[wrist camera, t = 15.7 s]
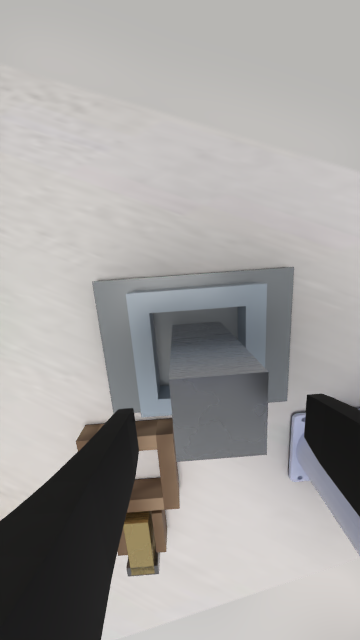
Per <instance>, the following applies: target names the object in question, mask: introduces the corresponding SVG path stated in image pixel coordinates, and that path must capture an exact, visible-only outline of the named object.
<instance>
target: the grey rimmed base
mask: <svg viewBox="0 0 360 640" xmlns="http://www.w3.org/2000/svg"><path fill="white" fill-rule="evenodd" d="M293 275H294V267H286V268H273V269H259V270H245V271H231V272H217V273H204V274H190V275H176V276H162V277H149V278H135V279H121V280H107V281H94V282H92V284H93V290H94V296H95V303H96V309H97V315H98V321H99V327H100V333H101V339H102V345H103V352H104V358H105V364H106V370H107V376H108V382H109V388H110V395H111V401H112V407H113V413H115V412H116V411H117V410H118V409H126V408H133V409H134V413H138V412H141V417H153V416H166V415H172V408H171V397H170V386H169V370H170V354H171V338H172V325H179V324H192V323H206V322H219V321H220V322H221V323H222V324H223V325H224V326H225V327H226V328H227V329H228V330H229V331H230V332H231V333H232V334H233V335H234V336H235V337H236V338H237V339H238V340H239V341H240V343H241V344H242V345H243V346H244V347H245V348H246V349H247V350H248V351H249V352H250V353H251V354H252V355H253V356H254V357H255V358H256V359H257V360H258V361H259V362H260V363H261V364H262V365H263V366H264V368H265V369H266V370H267V371H268V372H269V378H268V403H269V402H282V401H287V393H288V373H289V354H290V334H291V314H292V295H293Z"/></svg>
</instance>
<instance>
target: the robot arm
mask: <svg viewBox="0 0 360 640" xmlns="http://www.w3.org/2000/svg"><path fill="white" fill-rule="evenodd" d="M302 418H303V419H302ZM138 454H139V446H138V439H137V431H136V424H135V417H134V409H133V408H126V409H118V410H117V411H116V412H115V413H114V414H113V415H112V417H111V418H110V419H109V420H108V421H107V422H106V423H105V424H104V425H103V426H102V427H101V428H100V429H99V431H98V432H97V433H96V434H95V435H94V436H93V437H92V438H91V439H90V440H89V441H88V442H87V443H86V444H85V445H84V446H83V447H82V448H81V449H80V450H79V451H78V452H77V453H76V454H75V455H74V456H73V457H72V458H71V459H70V460H69V461H68V462H67V463H66V464H65V465H64V466H63V467H62V468H61V469H60V470H59V471H58V472H57V473H56V474H55V475H54V476H52V477H51V478H50V479H49V480H48V481H47V482H46V483H45V484H44V485H43V486H41V487H40V488H39V489H38V490H37V491H36V492H35V493H33V494H32V495H31V496H30V497H29V498H28V499H26V500H25V501H24V502H23V503H22V504H20V505H19V506H18V507H17V508H16V509H15V510H13V511H12V512H11V513H10V514H8V515H7V516H6V517H5V518H3V519H2V520H1V521H0V640H101V636H102V630H103V624H104V618H105V613H106V607H107V601H108V595H109V590H110V584H111V579H112V574H113V569H114V564H115V560H116V555H117V551H118V547H119V543H120V539H121V535H122V531H123V527H124V522H125V518H126V514H127V510H128V506H129V502H130V498H131V493H132V489H133V485H134V481H135V475H136V469H137V461H138ZM289 478H290V480H291V481H293V482H297V481H311V482H312V484H313V485H314V487H315V488H316V490H317V492H318V493H319V495H320V496H321V498H322V499H323V501H324V502H325V504H326V505H327V507H328V508H329V510H330V511H331V513H332V514H333V516H334V517H335V519H336V521H337V522H338V524H339V525H340V527H341V528H342V530H343V531H344V533H345V534H346V536H347V537H348V539H349V540H350V542H351V543H352V545H353V546H354V548H355V550H356V551H357V553H358V554H359V556H360V409H357V408H355V407H352V406H350V405H348V404H346V403H343V402H341V401H339V400H337V399H334V398H332V397H329V396H327V395H324V394H312V395H307V402H306V413H297V414H294V415H293V416H292V426H291V443H290V460H289Z"/></svg>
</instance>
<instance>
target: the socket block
mask: <svg viewBox="0 0 360 640" xmlns="http://www.w3.org/2000/svg"><path fill="white" fill-rule="evenodd" d="M135 424H136V431H137V439H138V446H139V451H143V450H156V449H157V450H158V459H159V468H160V476H161V478H151V479H138V480H135V481H134V485H133V489H132V493H131V498H130V502H129V506H128V510H127V513H128V512H141V511H152V521H153V529H154V537H155V544H156V552H157V553H158V552H166V543H167V524H166V515H165V510H166V509H179V508H180V507H179V480H178V469H177V461H176V451H175V440H174V429H173V418H172V419H159V420H146V421H135ZM103 425H104V424H94V425H85V427H84V429H83V430H82V432H81V434H80V435H79V437H78V439H77V440H76V444H77V449H78V451H79V450H80V449H81V448H82V447H83V446H84V445H85V444H86V443H87V442H88V441H89V440H90V439H91V438H92V437H93V436H94V435H95V434H96V433H97V432H98V431H99V429H100V428H101V427H102V426H103ZM121 555H128V551H127V546H126V540H125V534H124V529H123V531H122V535H121V539H120V543H119V547H118V556H121Z"/></svg>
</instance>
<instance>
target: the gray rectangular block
mask: <svg viewBox="0 0 360 640" xmlns="http://www.w3.org/2000/svg"><path fill="white" fill-rule="evenodd" d="M268 378H269V372H268V371H267V370H266V369H265V368H264V366H263V365H262V364H261V363H260V362H259V361H258V360H257V359H256V358H255V357H254V356H253V355H252V354H251V353H250V352H249V351H248V350H247V349H246V348H245V347H244V346H243V345H242V344H241V343H240V341H239V340H238V339H237V338H236V337H235V336H234V335H233V334H232V333H231V332H230V331H229V330H228V329H227V328H226V327H225V326H224V325H223V324H222V323H221V322H220V321H219V322H206V323H192V324H179V325H172V338H171V354H170V370H169V386H170V397H171V408H172V418H173V429H174V440H175V451H176V461H177V462H180V461H193V460H205V459H218V458H231V457H243V456H256V455H267V418H268Z"/></svg>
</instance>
